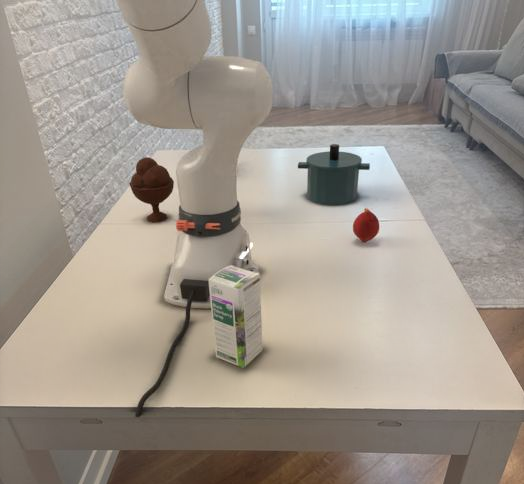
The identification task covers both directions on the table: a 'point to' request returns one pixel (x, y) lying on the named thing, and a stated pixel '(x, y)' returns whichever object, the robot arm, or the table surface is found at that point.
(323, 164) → the lid
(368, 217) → the onion
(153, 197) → the ice cream bowl
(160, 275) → the table surface
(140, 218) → the table surface
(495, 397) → the table surface
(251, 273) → the syrup box
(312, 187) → the pot
